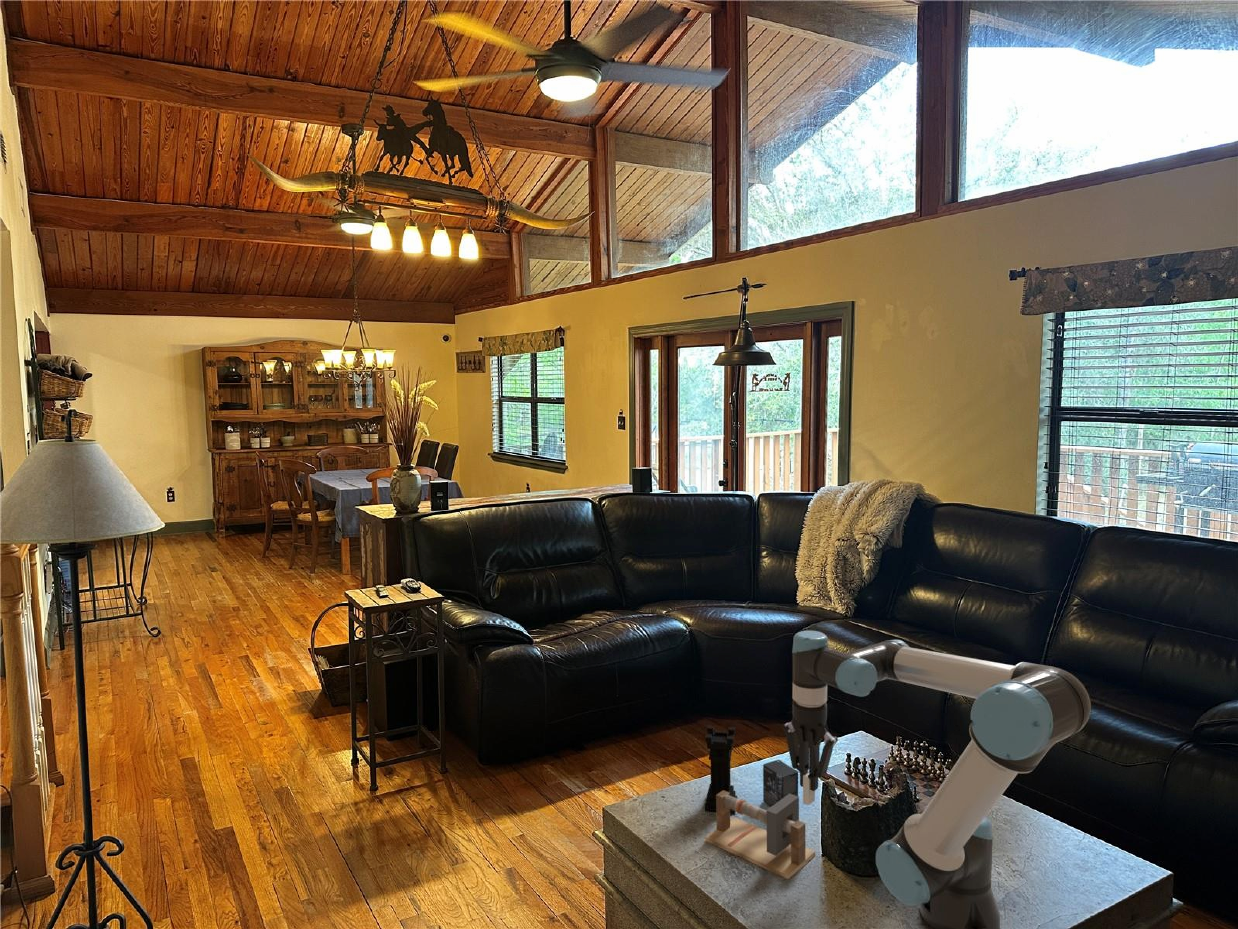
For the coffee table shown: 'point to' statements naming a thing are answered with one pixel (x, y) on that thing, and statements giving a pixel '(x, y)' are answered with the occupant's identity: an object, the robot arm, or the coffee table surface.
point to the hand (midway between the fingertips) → (808, 801)
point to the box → (778, 781)
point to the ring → (781, 823)
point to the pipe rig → (757, 837)
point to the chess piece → (719, 765)
